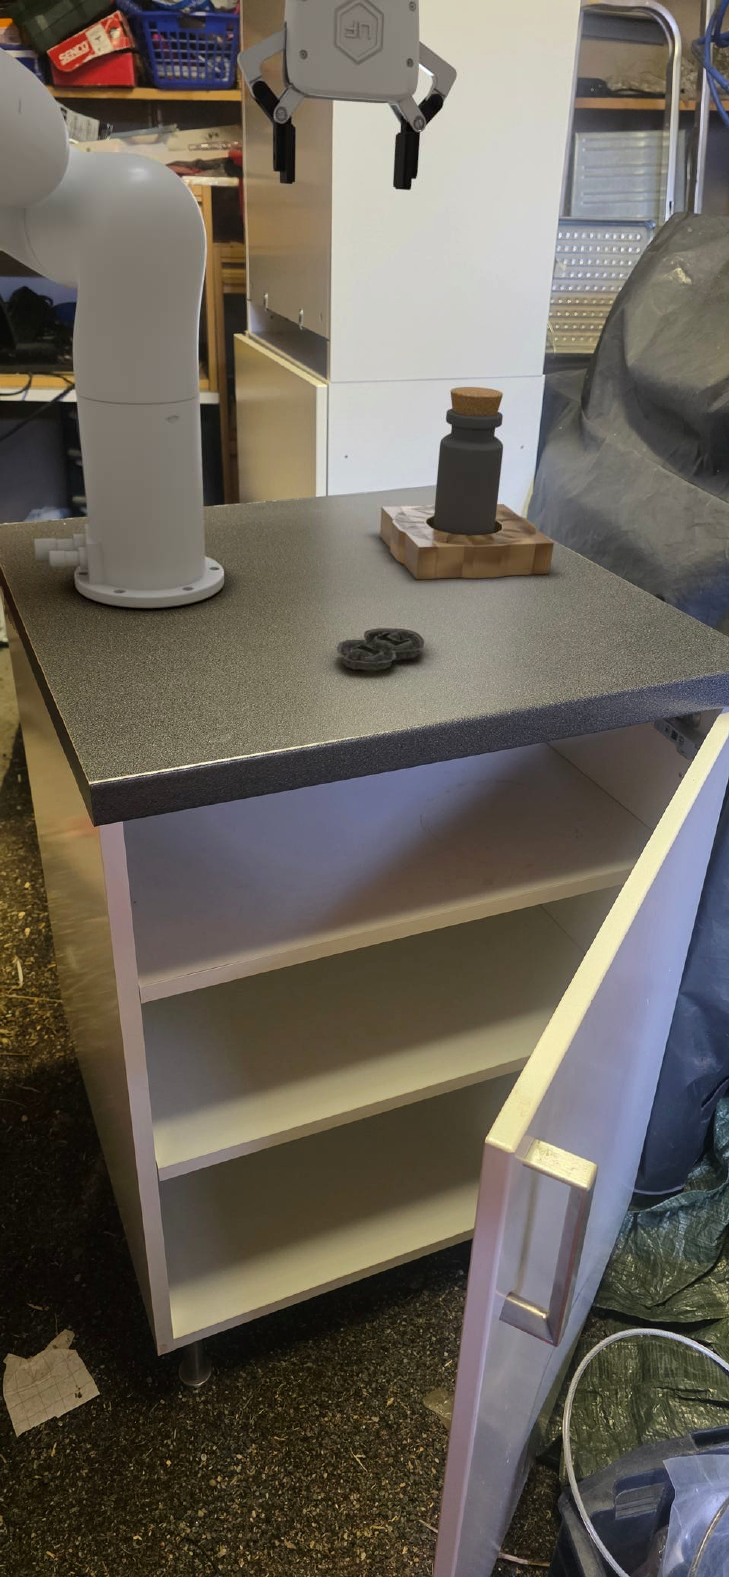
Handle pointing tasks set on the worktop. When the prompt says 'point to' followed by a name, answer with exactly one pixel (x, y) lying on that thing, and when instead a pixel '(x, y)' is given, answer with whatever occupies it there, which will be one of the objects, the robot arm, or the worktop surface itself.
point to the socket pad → (464, 545)
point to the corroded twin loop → (380, 648)
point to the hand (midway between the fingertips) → (345, 186)
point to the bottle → (469, 464)
